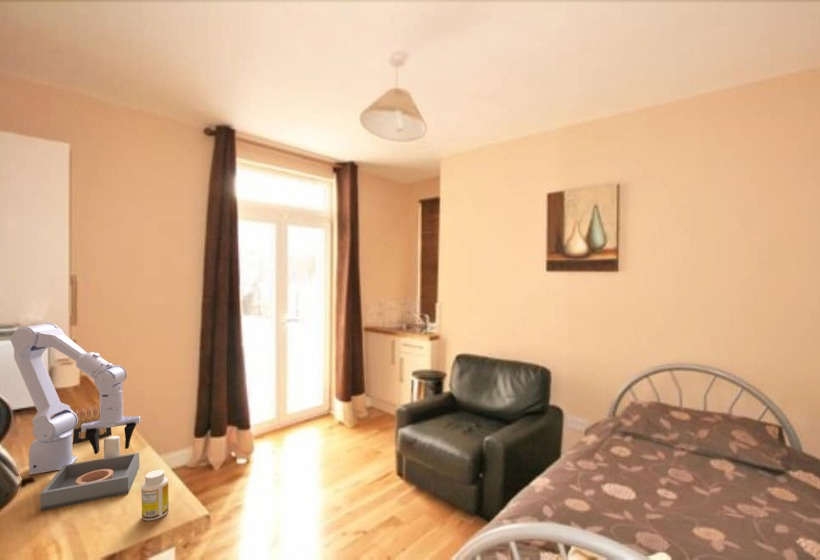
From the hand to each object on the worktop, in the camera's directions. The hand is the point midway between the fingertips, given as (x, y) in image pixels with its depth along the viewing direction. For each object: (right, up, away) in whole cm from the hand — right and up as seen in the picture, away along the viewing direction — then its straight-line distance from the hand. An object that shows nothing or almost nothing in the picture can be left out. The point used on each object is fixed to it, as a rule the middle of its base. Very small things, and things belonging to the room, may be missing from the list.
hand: (112, 450), depth 121 cm
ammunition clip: (-21, -4, +19) cm, 29 cm away
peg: (0, -4, 0) cm, 4 cm away
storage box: (+5, -5, -13) cm, 15 cm away
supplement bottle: (+30, -5, -25) cm, 40 cm away
